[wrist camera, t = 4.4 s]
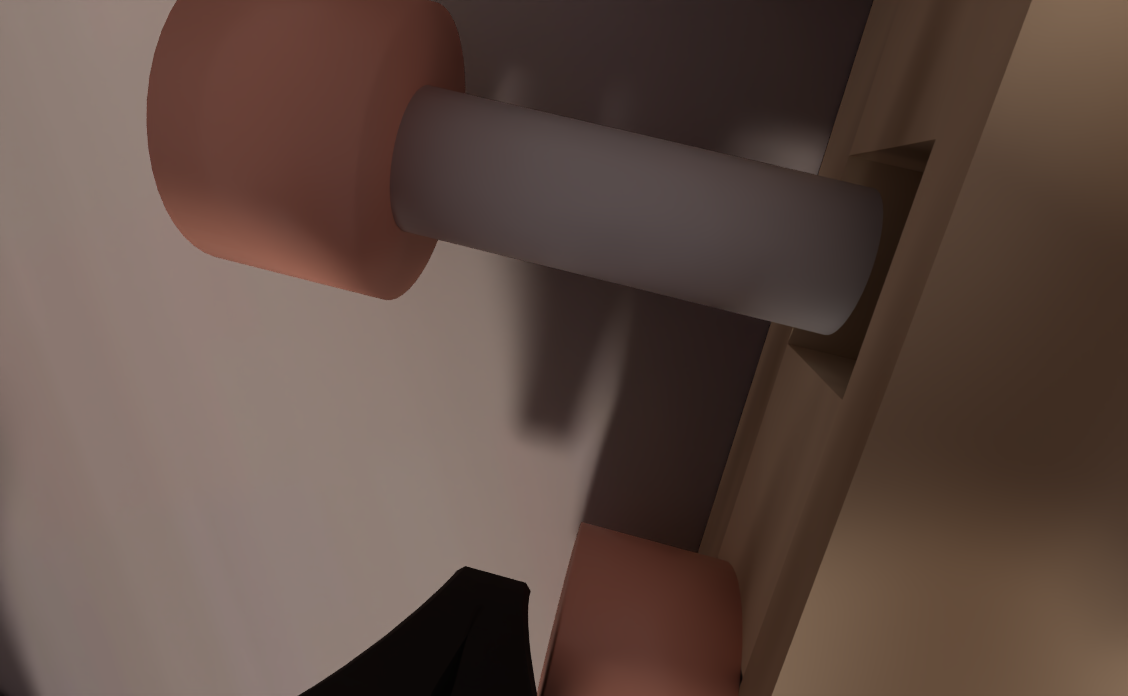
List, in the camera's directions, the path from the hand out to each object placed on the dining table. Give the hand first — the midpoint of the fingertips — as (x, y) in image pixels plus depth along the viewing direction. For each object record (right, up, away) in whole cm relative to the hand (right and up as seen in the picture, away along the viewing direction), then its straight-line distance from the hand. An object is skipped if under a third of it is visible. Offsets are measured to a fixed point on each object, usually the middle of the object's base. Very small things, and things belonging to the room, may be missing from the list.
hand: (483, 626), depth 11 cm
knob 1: (+1, +7, 0) cm, 7 cm away
